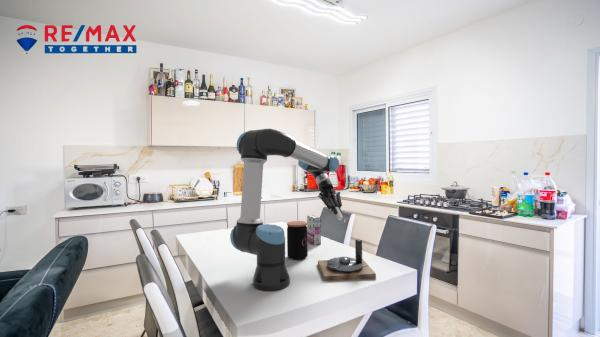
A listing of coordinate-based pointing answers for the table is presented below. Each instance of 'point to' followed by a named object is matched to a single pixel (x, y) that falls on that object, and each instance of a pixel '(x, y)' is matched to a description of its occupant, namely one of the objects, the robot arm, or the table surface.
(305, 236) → the coffee jar
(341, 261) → the capstan turntable
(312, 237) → the candy bar box
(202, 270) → the table surface
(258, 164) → the robot arm
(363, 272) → the walnut base
